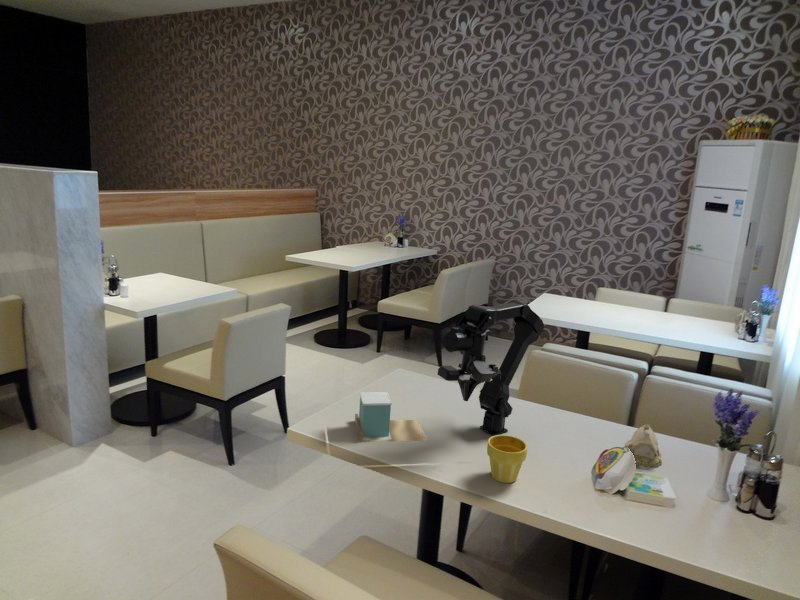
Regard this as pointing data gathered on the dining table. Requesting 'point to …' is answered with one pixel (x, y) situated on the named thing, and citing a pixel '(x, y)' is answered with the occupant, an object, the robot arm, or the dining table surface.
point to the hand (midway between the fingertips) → (465, 400)
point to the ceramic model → (645, 447)
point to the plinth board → (395, 431)
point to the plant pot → (506, 457)
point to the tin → (375, 413)
